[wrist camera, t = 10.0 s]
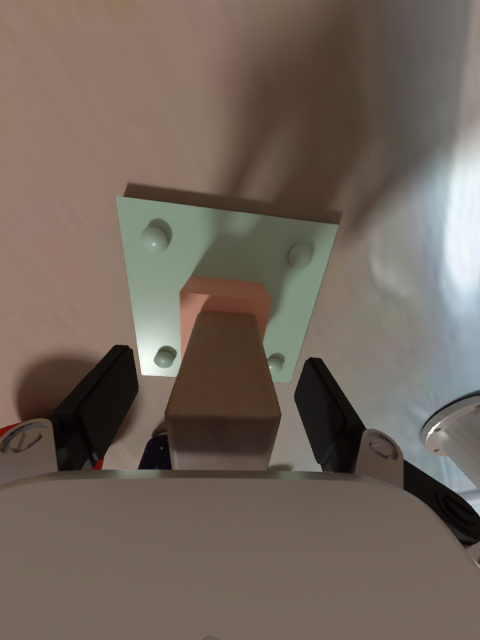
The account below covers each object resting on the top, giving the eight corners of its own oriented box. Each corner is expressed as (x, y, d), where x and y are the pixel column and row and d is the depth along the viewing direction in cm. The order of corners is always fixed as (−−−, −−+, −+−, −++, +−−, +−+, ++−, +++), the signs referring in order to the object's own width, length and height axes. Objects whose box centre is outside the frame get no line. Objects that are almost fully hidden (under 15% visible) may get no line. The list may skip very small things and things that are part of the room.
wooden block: (198, 356, 15) (169, 482, 8) (197, 308, 13) (159, 415, 6) (250, 359, 15) (268, 480, 8) (256, 312, 14) (286, 417, 6)
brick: (262, 283, 17) (271, 300, 13) (252, 342, 19) (257, 370, 16) (190, 275, 16) (179, 292, 13) (190, 337, 19) (181, 365, 15)
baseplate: (332, 224, 16) (343, 225, 14) (288, 376, 23) (291, 386, 22) (122, 197, 14) (110, 195, 13) (145, 368, 22) (139, 378, 20)
